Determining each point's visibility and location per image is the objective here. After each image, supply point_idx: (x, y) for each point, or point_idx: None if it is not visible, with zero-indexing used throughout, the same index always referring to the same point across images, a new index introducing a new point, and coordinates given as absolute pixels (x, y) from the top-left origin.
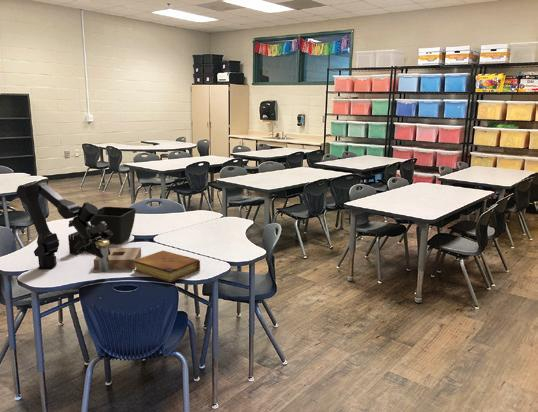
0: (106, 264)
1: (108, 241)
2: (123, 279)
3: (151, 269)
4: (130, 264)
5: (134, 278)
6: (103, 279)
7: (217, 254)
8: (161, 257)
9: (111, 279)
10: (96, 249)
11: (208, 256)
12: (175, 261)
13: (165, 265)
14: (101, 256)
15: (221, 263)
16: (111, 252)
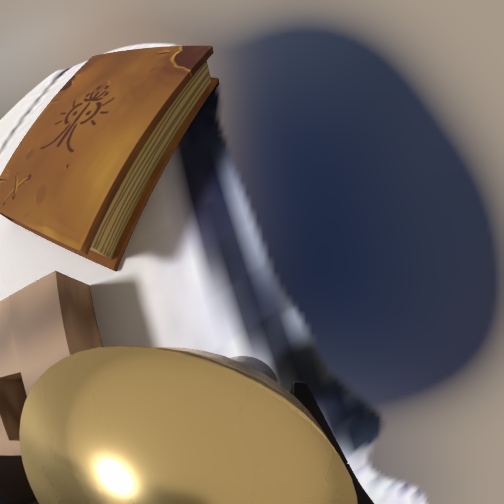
0: (255, 363)
1: (97, 356)
2: (244, 255)
3: (153, 139)
4: (77, 301)
5: (213, 209)
6: (281, 369)
7: (8, 123)
8: (50, 150)
9: (266, 323)
10: (354, 484)
11: (14, 130)
12: (102, 83)
13: (150, 79)
14: (308, 397)
15: (65, 78)
16: (17, 448)
